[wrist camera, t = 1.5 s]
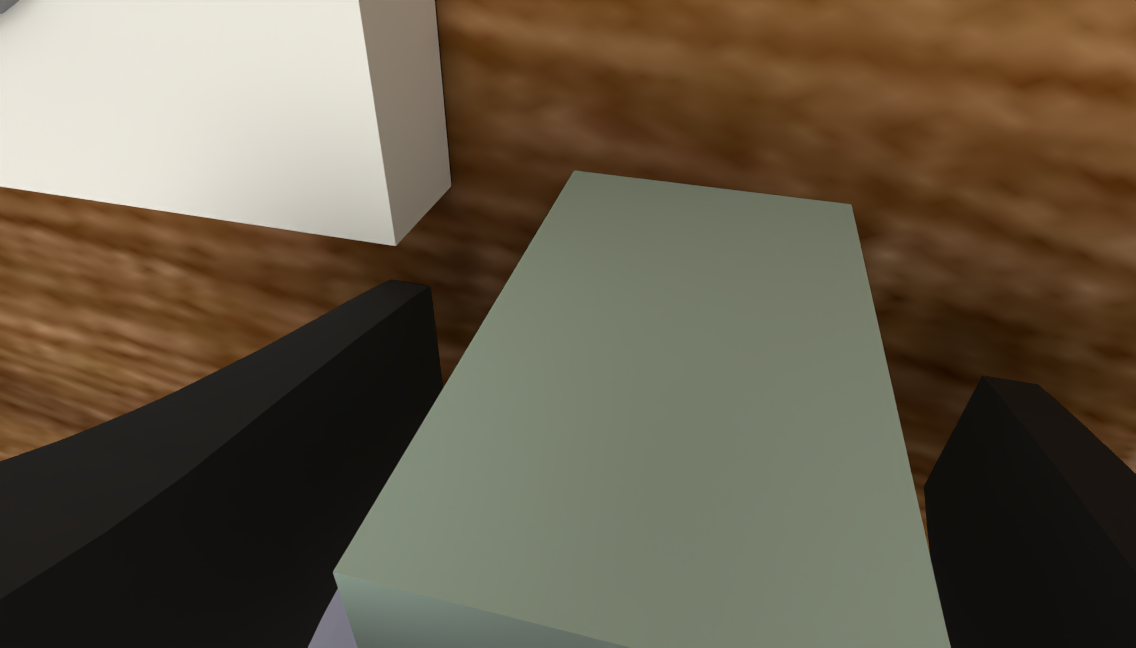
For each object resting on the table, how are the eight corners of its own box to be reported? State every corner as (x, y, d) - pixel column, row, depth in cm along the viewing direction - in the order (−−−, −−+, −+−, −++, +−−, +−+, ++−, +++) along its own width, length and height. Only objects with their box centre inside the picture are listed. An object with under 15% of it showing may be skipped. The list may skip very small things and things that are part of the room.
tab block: (788, 411, 12) (803, 920, 6) (568, 371, 12) (405, 794, 7) (851, 204, 9) (968, 732, 4) (573, 170, 10) (332, 571, 4)
